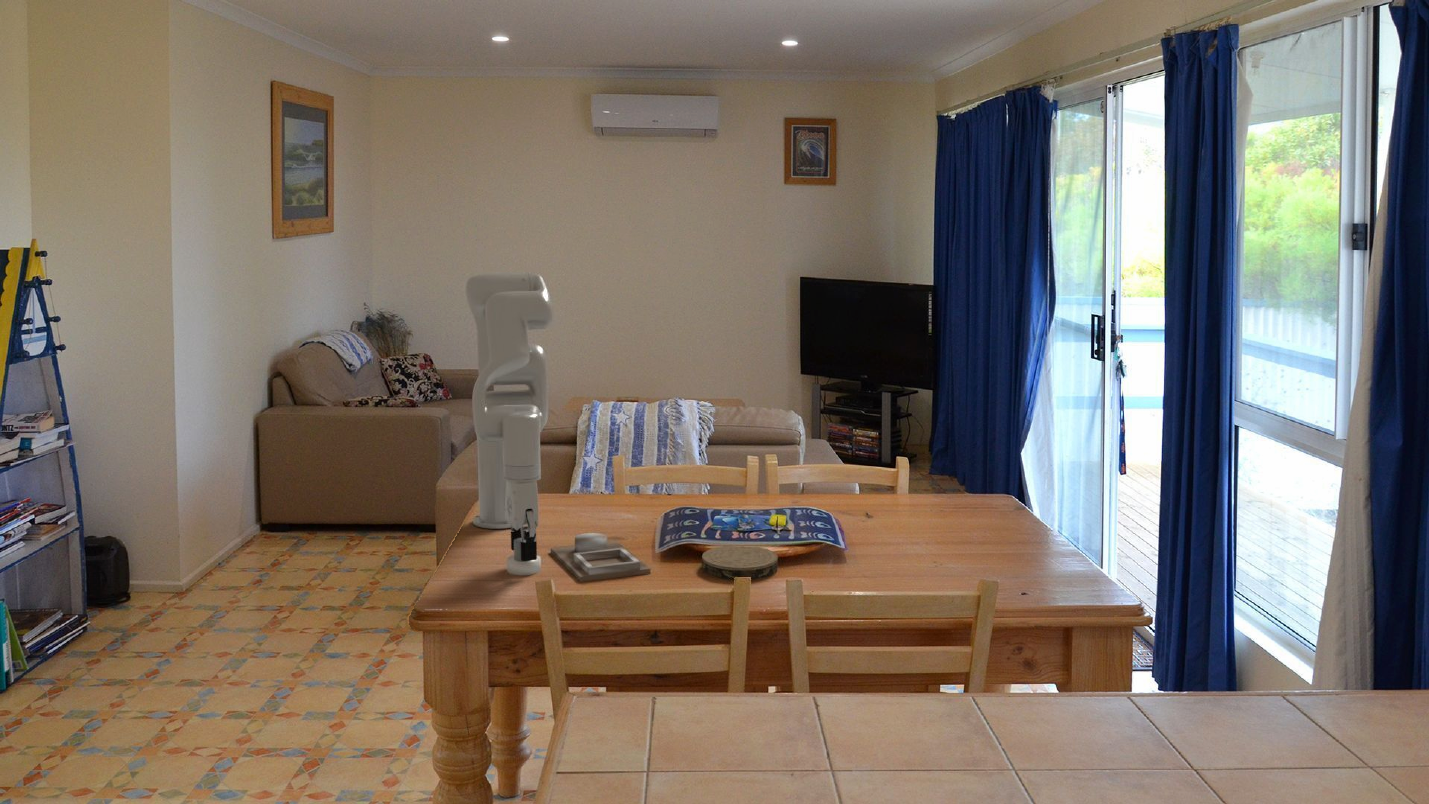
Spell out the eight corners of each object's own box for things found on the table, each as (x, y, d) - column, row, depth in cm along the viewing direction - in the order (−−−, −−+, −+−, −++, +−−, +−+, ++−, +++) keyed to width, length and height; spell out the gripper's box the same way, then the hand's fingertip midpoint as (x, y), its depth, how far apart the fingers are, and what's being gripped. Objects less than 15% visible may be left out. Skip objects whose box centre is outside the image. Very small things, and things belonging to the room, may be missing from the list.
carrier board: (550, 552, 263) (550, 534, 262) (615, 544, 268) (615, 527, 268) (580, 581, 243) (580, 562, 242) (650, 573, 249) (650, 554, 248)
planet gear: (503, 567, 252) (502, 537, 251) (536, 563, 255) (535, 534, 254) (511, 577, 246) (511, 546, 245) (545, 573, 248) (544, 542, 247)
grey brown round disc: (754, 586, 242) (754, 572, 241) (687, 573, 250) (687, 559, 249) (791, 566, 255) (791, 552, 254) (726, 554, 263) (726, 541, 263)
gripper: (494, 464, 253) (496, 545, 256) (514, 482, 237) (516, 568, 240) (529, 461, 256) (530, 541, 259) (551, 479, 240) (553, 564, 243)
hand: (523, 554), depth 250 cm, fingers open, 7 cm apart
